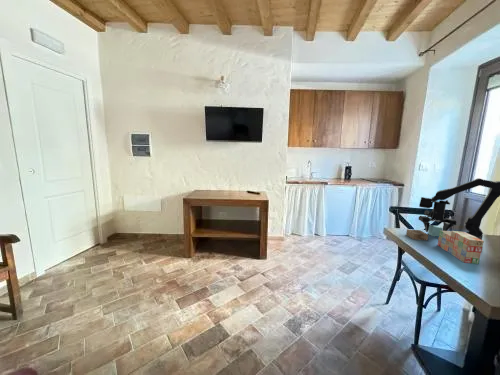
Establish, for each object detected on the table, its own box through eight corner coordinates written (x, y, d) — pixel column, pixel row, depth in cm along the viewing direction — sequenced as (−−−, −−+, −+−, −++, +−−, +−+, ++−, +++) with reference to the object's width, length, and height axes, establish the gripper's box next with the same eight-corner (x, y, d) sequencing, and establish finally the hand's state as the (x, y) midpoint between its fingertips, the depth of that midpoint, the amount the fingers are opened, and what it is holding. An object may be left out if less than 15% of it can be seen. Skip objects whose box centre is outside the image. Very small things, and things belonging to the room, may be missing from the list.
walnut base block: (419, 236, 142) (420, 230, 141) (427, 240, 134) (428, 234, 133) (406, 235, 143) (407, 229, 142) (413, 239, 135) (414, 233, 135)
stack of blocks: (436, 245, 127) (440, 225, 125) (449, 246, 126) (452, 226, 124) (464, 262, 107) (469, 239, 105) (479, 264, 105) (484, 240, 104)
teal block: (436, 234, 145) (438, 225, 145) (441, 237, 141) (442, 228, 140) (427, 233, 147) (429, 225, 146) (431, 236, 142) (433, 227, 141)
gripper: (448, 208, 146) (444, 230, 149) (416, 205, 151) (412, 227, 153) (459, 212, 136) (454, 236, 138) (424, 209, 140) (420, 232, 143)
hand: (434, 232), depth 143 cm, fingers open, 9 cm apart
